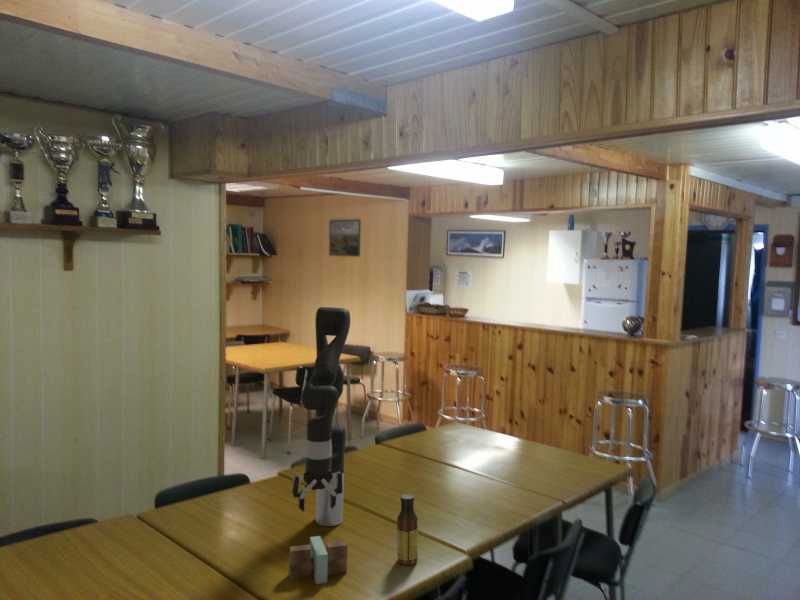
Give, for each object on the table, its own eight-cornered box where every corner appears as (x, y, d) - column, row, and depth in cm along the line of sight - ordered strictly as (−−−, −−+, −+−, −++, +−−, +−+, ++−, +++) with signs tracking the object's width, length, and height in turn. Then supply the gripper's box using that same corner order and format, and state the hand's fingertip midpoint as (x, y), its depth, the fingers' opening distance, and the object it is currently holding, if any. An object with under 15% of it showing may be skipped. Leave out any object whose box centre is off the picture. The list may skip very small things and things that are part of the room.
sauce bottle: (417, 556, 185) (419, 492, 184) (418, 566, 179) (420, 500, 178) (395, 556, 185) (397, 492, 184) (396, 566, 179) (398, 499, 178)
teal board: (309, 563, 178) (309, 537, 178) (319, 562, 179) (320, 536, 179) (316, 584, 167) (317, 555, 166) (327, 582, 168) (327, 554, 167)
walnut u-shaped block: (290, 579, 169) (291, 551, 168) (289, 574, 172) (289, 546, 171) (346, 572, 174) (347, 545, 173) (344, 567, 176) (345, 540, 176)
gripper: (340, 448, 181) (338, 501, 182) (292, 451, 176) (290, 506, 177) (345, 456, 173) (343, 511, 174) (295, 459, 169) (294, 516, 170)
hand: (317, 508), depth 176 cm, fingers open, 8 cm apart
